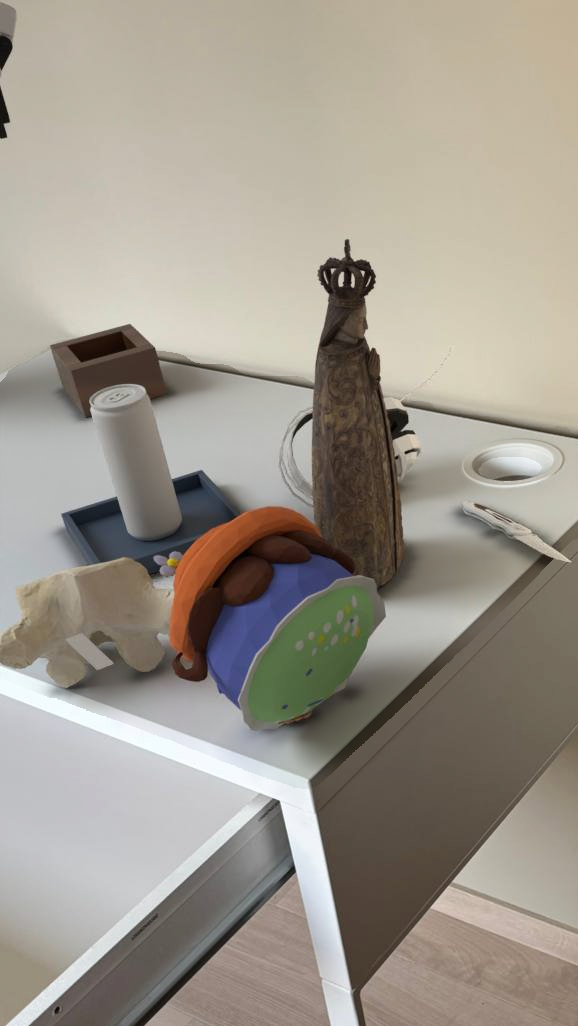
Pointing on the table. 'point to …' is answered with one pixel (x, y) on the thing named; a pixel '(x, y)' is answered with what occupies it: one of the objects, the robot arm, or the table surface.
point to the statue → (353, 432)
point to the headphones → (402, 440)
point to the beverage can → (136, 461)
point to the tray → (108, 540)
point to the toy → (266, 615)
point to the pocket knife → (510, 528)
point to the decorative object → (89, 618)
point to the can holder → (107, 364)
